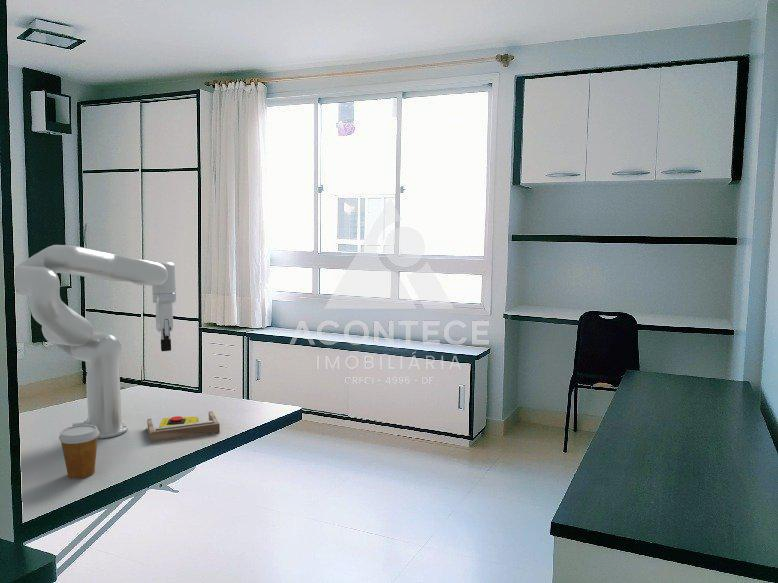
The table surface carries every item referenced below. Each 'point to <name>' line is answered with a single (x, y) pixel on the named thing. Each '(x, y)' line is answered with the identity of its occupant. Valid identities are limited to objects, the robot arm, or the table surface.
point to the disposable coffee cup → (79, 450)
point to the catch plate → (184, 425)
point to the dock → (183, 430)
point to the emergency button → (178, 421)
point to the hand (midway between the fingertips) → (166, 350)
